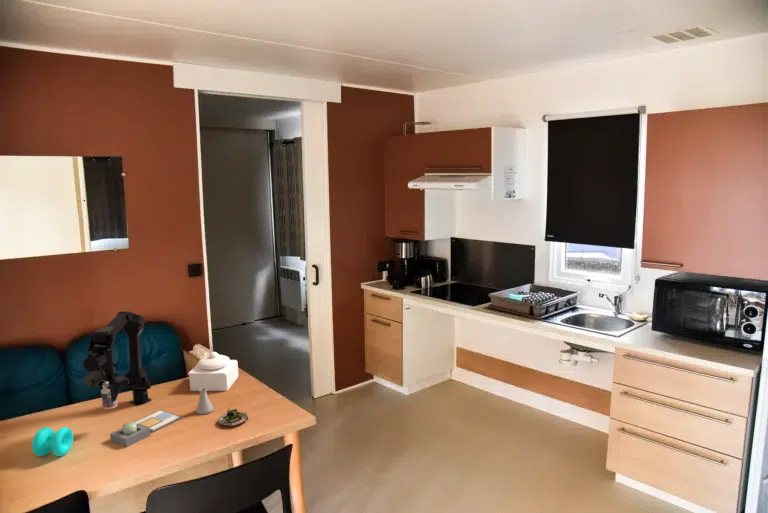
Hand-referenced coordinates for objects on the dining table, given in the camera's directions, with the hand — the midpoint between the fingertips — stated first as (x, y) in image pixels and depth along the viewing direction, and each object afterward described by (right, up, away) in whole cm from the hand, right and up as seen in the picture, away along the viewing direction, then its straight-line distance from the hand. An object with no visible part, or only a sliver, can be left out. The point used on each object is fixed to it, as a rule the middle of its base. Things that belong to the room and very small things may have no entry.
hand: (109, 399), depth 212 cm
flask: (+32, -10, +16) cm, 37 cm away
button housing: (+11, -13, -6) cm, 18 cm away
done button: (+11, -12, -6) cm, 17 cm away
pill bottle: (0, -3, 0) cm, 3 cm away
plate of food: (+47, -11, +6) cm, 49 cm away
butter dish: (+27, -5, +46) cm, 53 cm away
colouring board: (+16, -11, +7) cm, 21 cm away
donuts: (-11, -16, -17) cm, 26 cm away
